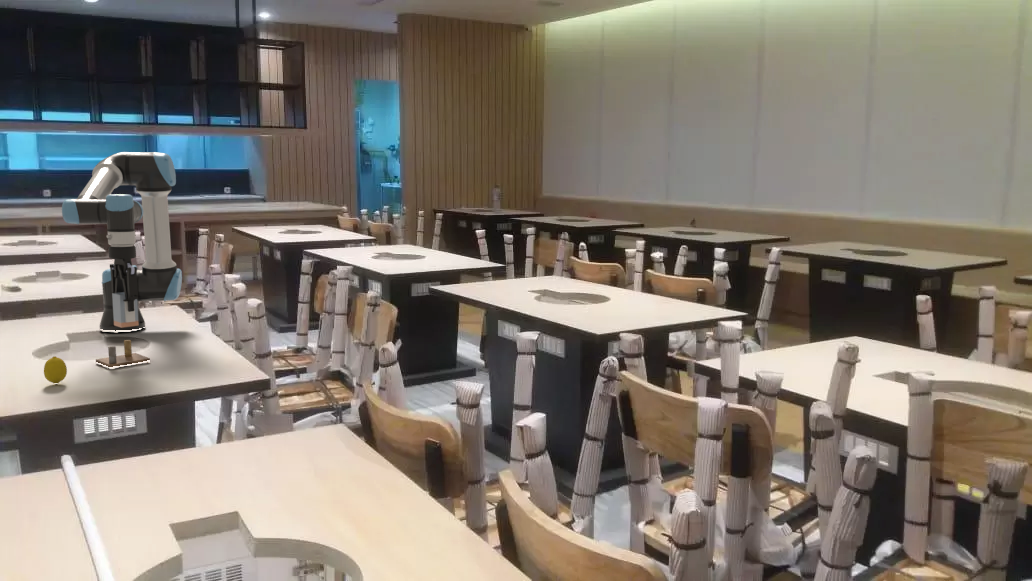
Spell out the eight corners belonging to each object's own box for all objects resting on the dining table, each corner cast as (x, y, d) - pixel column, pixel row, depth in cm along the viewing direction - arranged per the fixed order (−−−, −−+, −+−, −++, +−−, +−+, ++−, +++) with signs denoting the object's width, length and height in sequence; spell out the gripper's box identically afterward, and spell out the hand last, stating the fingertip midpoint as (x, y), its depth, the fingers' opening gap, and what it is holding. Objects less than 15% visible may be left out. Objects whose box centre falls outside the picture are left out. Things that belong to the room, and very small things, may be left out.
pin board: (135, 357, 257) (134, 337, 256) (150, 362, 250) (149, 342, 249) (96, 364, 248) (94, 343, 247) (110, 369, 241) (108, 348, 240)
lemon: (44, 388, 221) (42, 359, 220) (45, 383, 226) (43, 355, 225) (67, 385, 224) (65, 357, 222) (68, 381, 228) (66, 353, 227)
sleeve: (131, 323, 254) (129, 291, 252) (138, 325, 250) (136, 293, 249) (114, 325, 250) (112, 293, 248) (121, 327, 247) (119, 295, 245)
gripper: (96, 244, 250) (100, 318, 253) (122, 248, 238) (126, 326, 241) (121, 242, 255) (125, 315, 259) (148, 246, 244) (151, 322, 247)
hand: (126, 320), depth 250 cm, fingers closed on sleeve, 5 cm apart
